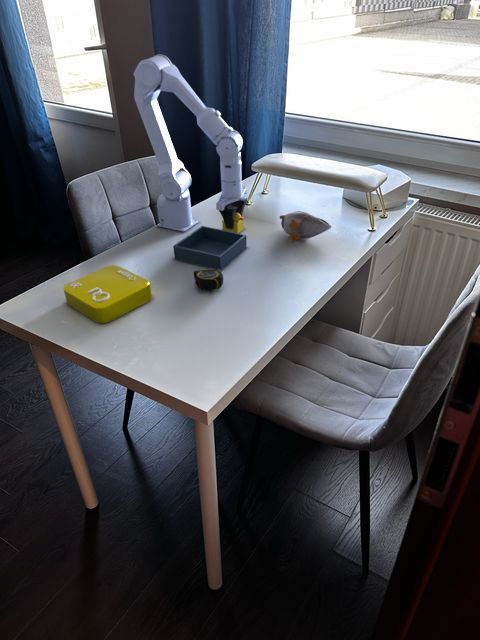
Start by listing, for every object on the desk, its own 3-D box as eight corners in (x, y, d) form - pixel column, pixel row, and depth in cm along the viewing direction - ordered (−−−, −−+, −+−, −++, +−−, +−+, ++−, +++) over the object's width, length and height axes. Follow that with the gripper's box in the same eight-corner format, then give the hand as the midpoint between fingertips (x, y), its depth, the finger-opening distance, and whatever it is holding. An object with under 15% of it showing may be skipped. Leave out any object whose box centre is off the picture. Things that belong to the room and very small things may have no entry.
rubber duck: (222, 230, 148) (221, 213, 144) (229, 225, 151) (228, 208, 147) (240, 234, 146) (240, 216, 142) (247, 229, 149) (246, 211, 145)
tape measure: (221, 278, 125) (221, 265, 123) (225, 292, 120) (224, 278, 118) (194, 281, 125) (193, 267, 122) (196, 295, 119) (195, 281, 117)
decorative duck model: (280, 202, 148) (331, 201, 147) (280, 227, 152) (330, 227, 151) (276, 217, 136) (332, 217, 134) (276, 244, 140) (331, 244, 138)
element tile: (155, 298, 118) (153, 280, 115) (102, 326, 109) (97, 308, 106) (116, 278, 126) (113, 261, 123) (63, 302, 117) (58, 285, 114)
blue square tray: (174, 259, 134) (173, 245, 131) (202, 238, 144) (201, 225, 141) (220, 270, 129) (220, 256, 126) (246, 248, 139) (246, 235, 136)
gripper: (231, 189, 133) (233, 237, 141) (256, 173, 143) (256, 218, 151) (208, 185, 135) (211, 232, 143) (234, 169, 145) (236, 214, 154)
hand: (233, 225), depth 147 cm, fingers closed on rubber duck, 4 cm apart
